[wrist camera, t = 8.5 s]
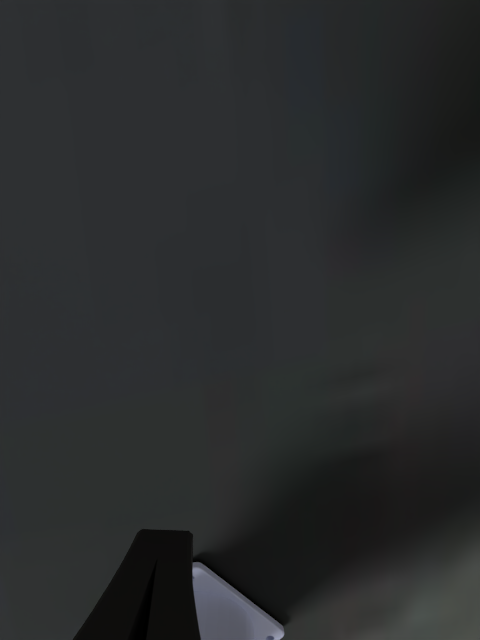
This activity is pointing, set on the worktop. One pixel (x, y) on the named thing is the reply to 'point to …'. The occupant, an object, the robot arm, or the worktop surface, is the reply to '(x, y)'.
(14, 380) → the worktop surface
